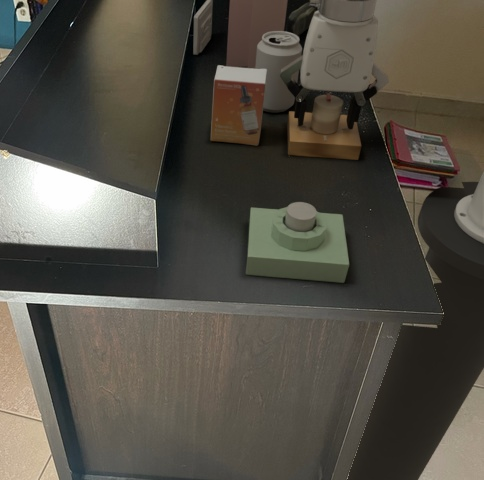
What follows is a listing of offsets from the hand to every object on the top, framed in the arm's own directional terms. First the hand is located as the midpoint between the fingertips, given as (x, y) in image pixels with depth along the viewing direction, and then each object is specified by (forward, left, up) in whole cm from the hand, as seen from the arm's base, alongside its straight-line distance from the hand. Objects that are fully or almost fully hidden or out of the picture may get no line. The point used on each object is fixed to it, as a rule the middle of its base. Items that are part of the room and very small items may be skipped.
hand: (324, 122), depth 92 cm
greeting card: (+11, -26, -4) cm, 28 cm away
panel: (0, 0, -3) cm, 3 cm away
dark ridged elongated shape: (+3, -48, -4) cm, 48 cm away
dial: (0, 0, -1) cm, 1 cm away
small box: (+14, 0, -4) cm, 14 cm away
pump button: (+5, +29, +1) cm, 29 cm away
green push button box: (+5, +29, -3) cm, 30 cm away
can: (+8, -12, -4) cm, 15 cm away
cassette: (+23, -38, -4) cm, 45 cm away
